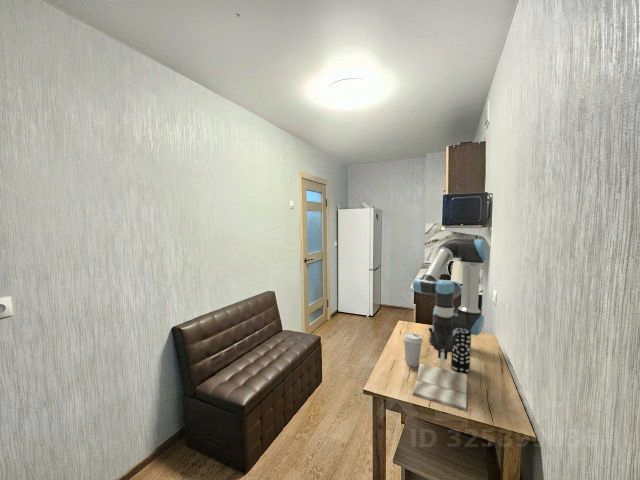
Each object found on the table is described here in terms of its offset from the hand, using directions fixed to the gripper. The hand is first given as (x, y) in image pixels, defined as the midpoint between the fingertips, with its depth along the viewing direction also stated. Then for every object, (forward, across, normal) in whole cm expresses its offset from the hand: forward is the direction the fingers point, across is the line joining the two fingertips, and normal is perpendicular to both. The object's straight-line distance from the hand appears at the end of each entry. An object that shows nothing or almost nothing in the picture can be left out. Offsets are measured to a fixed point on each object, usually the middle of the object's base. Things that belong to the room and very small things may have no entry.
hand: (442, 365), depth 125 cm
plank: (+5, 0, +3) cm, 6 cm away
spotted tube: (+8, -7, -16) cm, 19 cm away
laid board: (+7, 0, +13) cm, 15 cm away
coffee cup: (+8, +15, -10) cm, 19 cm away
